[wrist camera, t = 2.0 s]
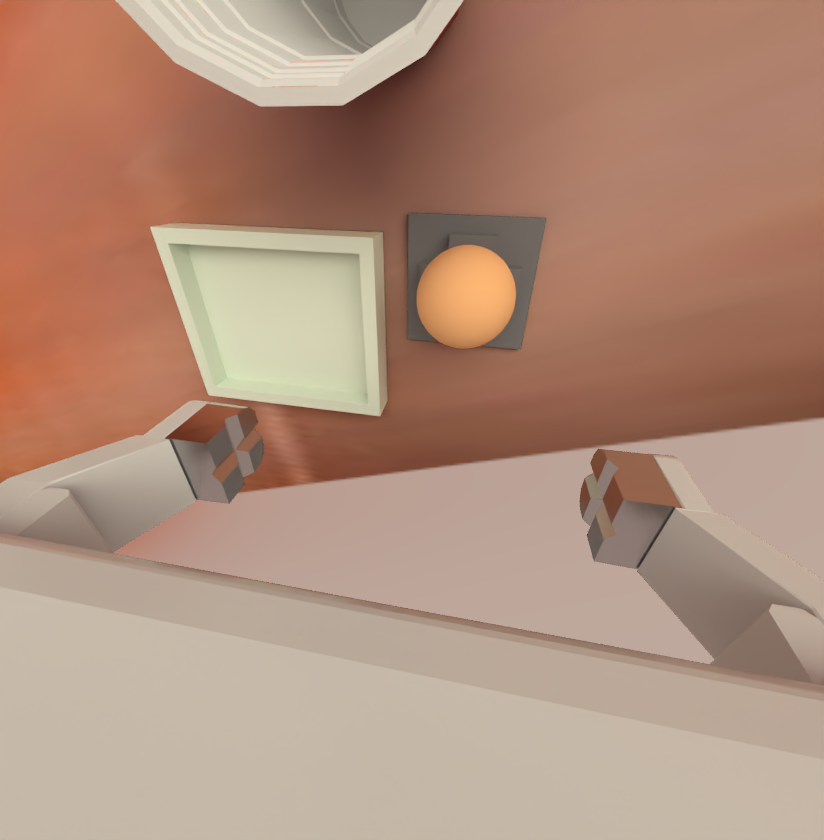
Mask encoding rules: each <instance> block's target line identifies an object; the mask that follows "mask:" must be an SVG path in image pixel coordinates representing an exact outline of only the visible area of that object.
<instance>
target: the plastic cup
mask: <svg viewBox="0 0 824 840" xmlns="http://www.w3.org/2000/svg"><path fill="white" fill-rule="evenodd" d="M115 1H116V2H117V3H118V4H119V5H120V6H121V7H122V8H123V9H124V10H125V11H126V12H127V13H128V14H129V15H130V16H131V17H132V18H133V19H134V20H135V21H136V23H137V24H138V25H139V26H140V27H141V28H142V29H143V30H144V31H145V32H146V33H147V34H148V35H149V36H150V37H151V38H152V39H153V40H154V41H155V42H156V43H157V44H158V45H159V47H160V48H161V49H162V50H163V51H164V52H165V53H166V54H167V55H168V56H169V57H170V58H171V59H172V60H173V61H174V62H175V63H177V64H178V65H180V66H182V67H184V68H186V69H188V70H190V71H192V72H194V73H196V74H198V75H200V76H202V77H204V78H206V79H208V80H210V81H211V82H213V83H215V84H217V85H219V86H221V87H223V88H225V89H227V90H229V91H231V92H233V93H235V94H237V95H239V96H241V97H243V98H245V99H246V100H248V101H250V102H252V103H254V104H256V105H258V106H342V105H345V104H346V103H348V102H349V101H351V100H353V99H354V98H356V97H358V96H359V95H361V94H363V93H364V92H366V91H367V90H369V89H371V88H372V87H374V86H376V85H377V84H379V83H380V82H382V81H384V80H385V79H387V78H389V77H390V76H392V75H393V74H395V73H397V72H398V71H400V70H402V69H403V68H405V67H407V66H408V65H410V64H411V63H413V62H415V61H416V60H418V59H420V58H421V57H423V56H424V55H426V53H427V52H428V51H429V49H430V48H432V47H433V46H435V45H436V44H437V42H438V41H439V39H440V38H441V37H442V35H443V34H444V33H445V31H446V30H447V28H448V27H449V26H450V24H451V23H452V21H453V20H454V19H455V17H456V16H457V14H458V11H459V8H460V5H461V4H462V2H463V1H464V0H115Z"/></svg>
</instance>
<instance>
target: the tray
mask: <svg viewBox="0 0 824 840" xmlns="http://www.w3.org/2000/svg"><path fill="white" fill-rule="evenodd" d="M150 228H151V231H152V234H153V237H154V240H155V242H156V245H157V248H158V251H159V254H160V257H161V260H162V263H163V266H164V268H165V271H166V274H167V277H168V280H169V283H170V286H171V289H172V291H173V294H174V297H175V300H176V303H177V306H178V309H179V312H180V314H181V317H182V320H183V323H184V326H185V329H186V332H187V335H188V338H189V340H190V343H191V346H192V349H193V352H194V355H195V358H196V361H197V363H198V366H199V369H200V372H201V375H202V378H203V381H204V384H205V387H206V389H207V392H208V395H211V396H220V397H228V398H236V399H244V400H252V401H260V402H268V403H276V404H284V405H292V406H301V407H309V408H317V409H325V410H333V411H341V412H349V413H357V414H365V415H373V416H381V414H382V412H383V410H384V407H385V405H386V403H387V365H386V328H385V290H384V252H383V232H366V231H344V230H323V229H301V228H280V227H258V226H237V225H215V224H194V223H170V224H164V225H159V226H153V227H150Z"/></svg>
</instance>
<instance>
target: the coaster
mask: <svg viewBox="0 0 824 840" xmlns="http://www.w3.org/2000/svg"><path fill="white" fill-rule="evenodd" d="M545 223H546V218H537V217H510V216H484V215H457V214H431V213H409V223H408V336H407V339H410V340H421V341H432V342H439V341H438V340H436V339H435V338H434V337H433V336H432V335H430V334H429V332H428V331H427V330H426V328H425V327H424V325H423V324H422V322H421V319H420V317H419V314H418V310H417V299H416V296H417V288H418V284H419V281H420V278H421V276H422V274H423V272H424V270H425V269H426V267H427V266H428V265H429V263H430V262H431V261H432V260H433V259H434V258H436V257H437V256H438V255H439V254H441V253H442V252H444V251H446V250H448V249H450V248H453V247H456V246H461V245H476V246H481V247H484V248H487V249H489V250H491V251H493V252H494V253H496V254H497V255H498V256H499V257H501V258H502V260H503V261H504V262H505V263H506V264H507V266H508V267H509V269H510V271H511V273H512V276H513V279H514V282H515V287H516V300H515V307H514V311H513V313H512V316H511V318H510V320H509V322H508V324H507V325H506V327H505V328H504V329H503V330H502V332H501V333H500V334H499V335H498V336H496V337H495V338H494V339H492V340H491V341H489V342H488V343H485V344H483V345H481V346H488V347H499V348H510V349H521V345H522V340H523V335H524V329H525V324H526V319H527V314H528V309H529V304H530V299H531V294H532V289H533V284H534V279H535V274H536V268H537V263H538V258H539V253H540V248H541V243H542V238H543V233H544V228H545Z"/></svg>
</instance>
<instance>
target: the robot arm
mask: <svg viewBox="0 0 824 840" xmlns="http://www.w3.org/2000/svg"><path fill="white" fill-rule="evenodd" d="M257 423H258V420H257V417H256V414H255V411H254V410H252V409H251V408H249V407H243V406H236V405H229V404H222V403H215V402H214V403H212V402H207V401H198V400H195V401H189V402H187V403H186V404H185V405H183V406H182V407H181V408H179V409H178V410H177V411H175V412H174V413H172V414H171V415H170V416H168V417H167V418H166V419H164V420H163V421H162V422H160V423H159V424H158V425H156V426H155V427H154V428H152V429H151V430H150V431H148V432H147V433H146V434H144V435H143V436H140V435H136V436H133V437H130V438H127V439H124V440H121V441H118V442H115V443H112V444H109V445H106V446H103V447H100V448H97V449H94V450H91V451H88V452H85V453H82V454H79V455H76V456H73V457H70V458H67V459H64V460H61V461H58V462H55V463H52V464H49V465H46V466H43V467H40V468H37V469H34V470H31V471H28V472H25V473H23V474H20V475H17V476H14V477H11V478H8V479H7V480H5V481H3V482H2V483H0V840H824V580H822V579H821V578H819V577H818V576H816V575H815V574H813V573H812V572H810V571H809V570H807V569H806V568H804V567H803V566H801V565H800V564H798V563H797V562H795V561H794V560H792V559H791V558H789V557H787V556H786V555H784V554H783V553H782V552H780V551H779V550H777V549H775V548H774V547H773V546H771V545H770V544H768V543H766V542H765V541H763V540H762V539H760V538H759V537H757V536H756V535H754V534H753V533H751V532H750V531H748V530H747V529H745V528H743V527H742V526H741V525H739V524H738V523H736V522H734V521H733V520H732V519H730V518H729V517H727V516H726V515H724V514H719V513H715V512H714V511H713V509H712V508H711V506H710V505H709V503H708V502H707V500H706V499H705V498H704V496H703V494H702V493H701V491H700V490H699V488H698V487H697V485H696V484H695V482H694V481H693V479H692V478H691V476H690V475H689V473H688V472H687V470H686V469H685V467H684V466H683V464H682V463H681V461H680V460H679V459H678V458H676V457H674V456H668V455H656V454H640V453H631V452H622V451H612V450H603V449H598V450H597V451H596V453H595V454H594V456H593V458H592V461H591V466H592V469H593V473H592V474H590V475H589V476H587V477H586V478H585V479H584V482H583V485H582V488H581V494H580V510H581V514H582V518H583V520H584V521H586V523H587V524H589V525H590V526H591V527H590V529H589V531H588V534H587V537H588V541H589V545H590V548H591V552H592V555H593V559H594V561H597V562H602V563H607V564H612V565H618V566H624V567H629V568H634V569H638V570H637V572H638V573H639V574H640V575H641V576H642V577H643V578H644V580H645V581H646V582H647V583H648V584H649V585H650V586H651V587H652V589H653V590H654V591H655V592H656V593H657V594H658V595H659V597H660V598H661V599H662V600H663V601H664V602H665V603H666V605H667V606H668V607H669V608H670V609H671V610H672V611H673V612H674V614H675V615H676V616H677V617H678V618H679V619H680V620H681V621H682V623H683V624H684V625H685V626H686V627H687V628H688V630H689V631H690V632H691V633H692V634H693V635H694V636H695V637H696V639H697V640H698V641H699V642H700V643H701V644H702V645H703V646H704V648H705V649H706V650H707V651H708V652H709V653H710V655H712V657H713V658H714V659H715V660H714V661H713V662H712V663H711V664H704V663H699V662H694V661H689V660H683V659H678V658H672V657H667V656H661V655H656V654H651V653H646V652H640V651H635V650H630V649H624V648H619V647H613V646H608V645H603V644H597V643H591V642H587V641H581V640H576V639H570V638H565V637H560V636H554V635H549V634H543V633H538V632H532V631H527V630H522V629H516V628H511V627H505V626H500V625H495V624H489V623H483V622H478V621H473V620H468V619H462V618H457V617H451V616H445V615H440V614H434V613H429V612H424V611H419V610H413V609H408V608H402V607H397V606H391V605H386V604H380V603H376V602H370V601H365V600H359V599H354V598H349V597H343V596H338V595H333V594H328V593H322V592H317V591H312V590H306V589H301V588H296V587H290V586H285V585H280V584H274V583H269V582H263V581H258V580H253V579H248V578H242V577H237V576H231V575H226V574H220V573H215V572H210V571H205V570H199V569H194V568H189V567H183V566H177V565H173V564H167V563H162V562H156V561H151V560H146V559H140V558H135V557H129V556H124V555H118V554H114V553H113V552H114V551H116V550H118V549H119V548H121V547H123V546H124V545H126V544H127V543H129V542H131V541H132V540H134V539H136V538H137V537H139V536H141V535H142V534H144V533H145V532H147V531H148V530H150V529H152V528H154V527H155V526H157V525H158V524H160V523H162V522H163V521H165V520H167V519H168V518H170V517H171V516H173V515H175V514H176V513H178V512H180V511H181V510H183V509H185V508H186V507H188V506H189V505H191V504H192V503H194V502H196V499H197V500H205V501H212V502H220V503H230V502H231V501H232V499H233V498H234V497H235V496H236V494H237V493H238V492H239V491H240V489H241V488H242V487H243V486H244V484H245V483H244V477H245V476H247V475H249V474H251V473H253V472H255V470H256V469H257V468H258V466H259V465H260V463H261V460H262V457H263V454H264V443H263V439H262V436H261V435H260V434H259V433H258V432H257V431H256V430H255V429H254V428H255V427H256V425H257Z"/></svg>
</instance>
